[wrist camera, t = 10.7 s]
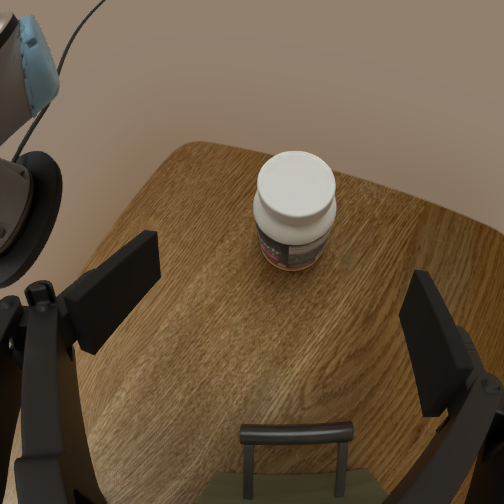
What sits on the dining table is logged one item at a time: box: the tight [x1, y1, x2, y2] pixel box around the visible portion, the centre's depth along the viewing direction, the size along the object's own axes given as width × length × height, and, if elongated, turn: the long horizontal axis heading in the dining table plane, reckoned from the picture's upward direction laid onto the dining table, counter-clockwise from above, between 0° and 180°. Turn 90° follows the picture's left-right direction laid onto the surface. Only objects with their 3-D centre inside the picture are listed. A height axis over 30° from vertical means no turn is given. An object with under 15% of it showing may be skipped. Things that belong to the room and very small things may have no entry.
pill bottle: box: [253, 151, 336, 271], centre depth 22 cm, size 6×6×10 cm
